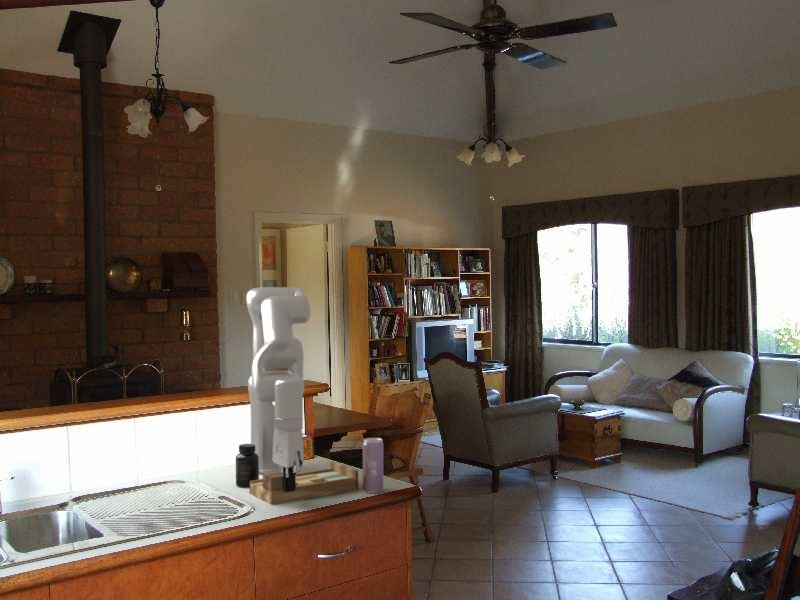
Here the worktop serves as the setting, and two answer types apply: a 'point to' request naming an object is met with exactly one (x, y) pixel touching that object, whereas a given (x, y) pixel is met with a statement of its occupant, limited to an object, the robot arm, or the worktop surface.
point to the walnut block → (272, 481)
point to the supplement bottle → (246, 465)
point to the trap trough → (310, 484)
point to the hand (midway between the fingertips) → (288, 490)
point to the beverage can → (373, 465)
